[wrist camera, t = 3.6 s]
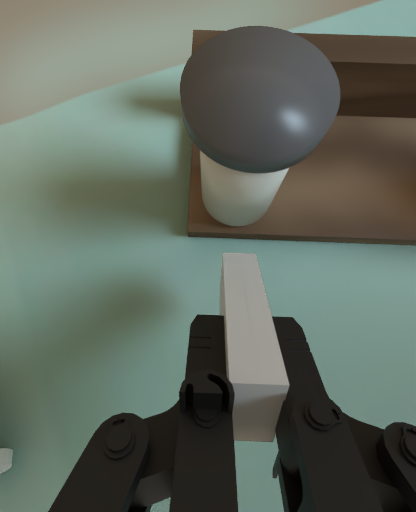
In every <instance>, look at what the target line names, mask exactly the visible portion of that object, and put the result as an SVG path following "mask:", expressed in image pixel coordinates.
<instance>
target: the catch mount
mask: <svg viewBox="0 0 416 512" xmlns="http://www.w3.org/2000/svg"><path fill="white" fill-rule="evenodd" d="M222 32H225V31H212V30H193V44H192V54H193V53H194V52H195V51H196V49H197V48H198V47H199V46H201V45H202V44H203V43H204V42H206V41H207V40H209V39H210V38H212V37H213V36H216V35H218V34H220V33H222ZM294 34H296V35H298V36H300V37H302V38H304V39H306V40H307V41H309V42H310V43H312V44H313V45H314V46H316V47H317V48H318V49H319V50H320V51H321V52H322V53H323V54H324V55H325V56H326V57H327V59H328V60H329V61H330V63H331V64H332V66H333V68H334V70H335V72H336V75H337V77H338V80H339V85H340V104H339V109H338V112H337V115H336V117H335V119H334V121H333V123H332V124H331V126H330V128H329V129H328V131H327V133H326V134H325V136H324V138H323V139H322V141H321V142H320V144H319V145H318V147H317V148H316V149H315V150H314V151H313V152H312V153H311V154H310V155H309V156H308V157H307V158H306V159H304V160H303V161H301V162H300V163H298V164H296V165H294V166H292V167H290V168H289V169H288V171H287V173H286V175H285V177H284V179H283V181H282V183H281V185H280V187H279V189H278V191H277V193H276V195H275V197H274V199H273V200H272V202H271V204H270V206H269V208H268V210H267V212H266V213H265V214H264V215H263V217H262V218H260V219H259V220H258V221H256V222H254V223H252V224H249V225H246V226H229V225H226V224H223V223H221V222H219V221H217V220H216V219H214V218H213V217H212V216H211V215H210V214H209V213H208V211H207V210H206V208H205V206H204V203H203V200H202V187H201V163H200V149H199V148H198V147H197V146H196V145H195V144H194V142H193V147H192V163H191V180H190V196H189V213H188V229H187V232H188V237H215V238H241V239H268V240H294V241H321V242H347V243H374V244H400V245H416V37H401V36H369V35H338V34H307V33H294Z"/></svg>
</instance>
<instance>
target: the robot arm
mask: <svg viewBox="0 0 416 512" xmlns="http://www.w3.org/2000/svg"><path fill="white" fill-rule="evenodd" d="M275 433H276V438H277V443H278V449H279V451H278V454H277V457H276V460H275V464H274V467H273V478H277V475H278V476H279V482H280V488H281V494H282V500H283V506H284V512H416V426H413V425H410V424H407V423H404V422H394V423H392V424H390V425H388V426H387V427H386V428H385V430H384V429H381V428H378V427H375V426H372V425H369V424H366V423H364V422H361V421H358V420H356V419H354V418H351V417H349V416H348V415H346V414H345V413H343V412H342V411H341V409H340V408H339V407H338V406H337V405H336V404H335V403H334V402H333V401H332V400H331V399H330V398H329V397H328V395H327V393H326V391H325V388H324V385H323V383H322V380H321V377H320V375H319V372H318V369H317V367H316V364H315V361H314V359H313V356H312V353H311V352H310V348H309V345H308V343H307V342H306V337H305V335H304V332H303V329H302V327H301V326H300V325H299V324H298V323H297V322H296V321H295V320H294V318H293V317H272V315H271V312H270V308H269V304H268V300H267V296H266V292H265V288H264V284H263V281H262V277H261V273H260V269H259V265H258V261H257V257H256V254H250V253H223V255H222V270H221V285H220V315H197V316H196V317H195V319H194V320H193V322H192V323H191V326H190V336H189V345H188V355H187V365H186V375H185V380H184V381H183V382H182V385H181V388H180V391H179V401H178V402H177V403H176V404H175V405H174V406H173V407H172V408H170V409H169V410H168V411H165V412H163V413H161V414H158V415H155V416H152V417H148V418H145V419H142V418H140V417H139V416H137V415H135V414H133V413H121V414H117V415H114V416H112V417H110V418H109V419H107V420H106V421H104V422H103V423H102V424H101V425H100V427H99V428H98V429H97V430H96V432H95V433H94V434H93V436H92V438H91V440H90V441H89V443H88V445H87V446H86V448H85V450H84V451H83V453H82V455H81V457H80V458H79V460H78V462H77V463H76V465H75V467H74V468H73V470H72V472H71V474H70V475H69V477H68V479H67V480H66V482H65V484H64V486H63V487H62V489H61V491H60V492H59V494H58V496H57V497H56V499H55V501H54V503H53V504H52V506H51V508H50V509H49V511H48V512H150V509H151V506H152V504H154V503H157V502H159V501H162V500H164V499H167V498H169V497H171V501H170V511H169V512H238V502H237V485H236V468H235V451H234V440H236V441H262V442H273V440H274V437H275Z"/></svg>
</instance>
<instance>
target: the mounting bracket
mask: <svg viewBox="0 0 416 512" xmlns="http://www.w3.org/2000/svg"><path fill="white" fill-rule="evenodd" d="M12 457H13V450H12V449H9V448H1V449H0V474H1V473H3V472H5V471H7V470H8V469H10V468H11V467H12Z"/></svg>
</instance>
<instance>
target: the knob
mask: <svg viewBox="0 0 416 512" xmlns="http://www.w3.org/2000/svg"><path fill="white" fill-rule="evenodd" d="M180 95H181V103H182V112H183V119H184V124H185V127H186V130H187V132H188V134H189V136H190V138H191V139H192V141H193V142H194V144H195V145H196V146H197V147H198V148H199V149H200V163H201V187H202V200H203V203H204V206H205V208H206V210H207V211H208V213H209V214H210V215H211V216H212V217H213V218H214V219H216V220H217V221H219V222H221V223H223V224H226V225H229V226H246V225H249V224H252V223H254V222H256V221H258V220H259V219H260V218H262V217H263V215H264V214H265V213H266V212H267V210H268V208H269V206H270V204H271V202H272V200H273V199H274V197H275V195H276V193H277V191H278V189H279V187H280V185H281V183H282V181H283V179H284V177H285V175H286V173H287V171H288V169H289V168H290V167H292V166H294V165H296V164H298V163H300V162H301V161H303V160H304V159H306V158H307V157H308V156H309V155H310V154H311V153H312V152H313V151H314V150H315V149H316V148H317V147H318V145H319V144H320V142H321V141H322V139H323V138H324V136H325V134H326V133H327V131H328V129H329V128H330V126H331V124H332V123H333V121H334V119H335V117H336V115H337V112H338V109H339V104H340V85H339V80H338V77H337V75H336V72H335V70H334V68H333V66H332V64H331V63H330V61H329V60H328V59H327V57H326V56H325V55H324V54H323V53H322V52H321V51H320V50H319V49H318V48H317V47H316V46H314V45H313V44H312V43H310V42H309V41H307V40H306V39H304V38H302V37H300V36H298V35H296V34H294V33H291V32H289V31H286V30H282V29H278V28H273V27H265V26H247V27H239V28H235V29H231V30H228V31H225V32H222V33H220V34H218V35H216V36H213V37H212V38H210V39H209V40H207V41H206V42H204V43H203V44H202V45H201V46H199V47H198V48H197V49H196V51H195V52H194V53H193V54H192V55H191V57H190V58H189V60H188V61H187V63H186V65H185V67H184V70H183V73H182V76H181V83H180Z"/></svg>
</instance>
